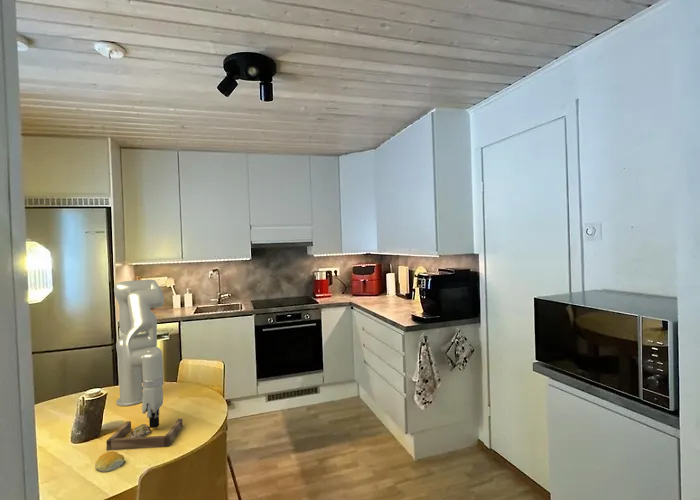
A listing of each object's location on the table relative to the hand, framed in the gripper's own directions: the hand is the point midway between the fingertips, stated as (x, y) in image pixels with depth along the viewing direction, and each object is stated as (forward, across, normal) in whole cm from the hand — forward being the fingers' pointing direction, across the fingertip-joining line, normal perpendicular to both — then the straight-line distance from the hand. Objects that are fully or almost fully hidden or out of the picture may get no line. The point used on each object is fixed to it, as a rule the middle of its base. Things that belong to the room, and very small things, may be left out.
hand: (154, 426), depth 163 cm
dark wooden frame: (+1, +7, 0) cm, 7 cm away
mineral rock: (+2, +5, -4) cm, 6 cm away
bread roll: (+2, +25, -5) cm, 26 cm away
